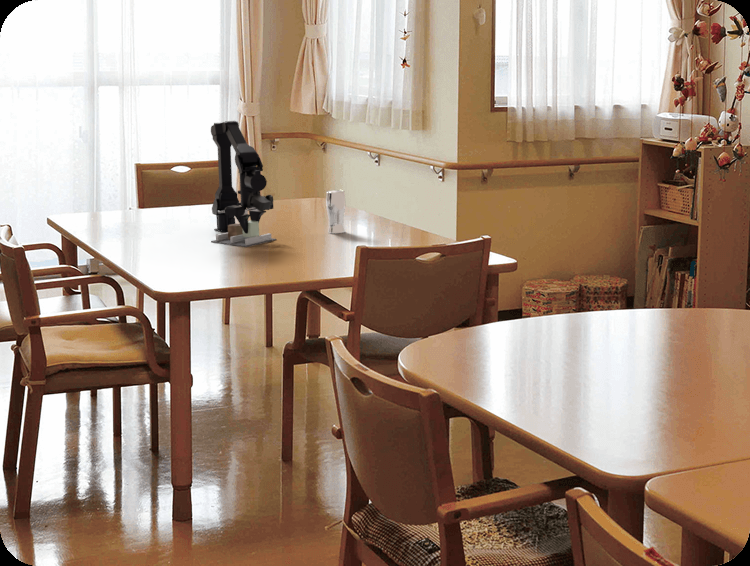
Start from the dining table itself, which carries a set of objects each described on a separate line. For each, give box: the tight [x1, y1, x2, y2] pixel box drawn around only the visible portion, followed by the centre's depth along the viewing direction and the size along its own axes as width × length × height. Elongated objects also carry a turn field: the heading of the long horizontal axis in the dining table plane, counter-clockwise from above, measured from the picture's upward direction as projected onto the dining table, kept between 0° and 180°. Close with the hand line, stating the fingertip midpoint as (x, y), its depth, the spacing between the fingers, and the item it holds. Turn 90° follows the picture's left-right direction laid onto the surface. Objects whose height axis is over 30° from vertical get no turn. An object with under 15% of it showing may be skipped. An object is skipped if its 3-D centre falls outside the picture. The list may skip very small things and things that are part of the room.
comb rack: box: [210, 232, 277, 248], centre depth 332 cm, size 17×15×2 cm
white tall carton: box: [325, 189, 346, 235], centre depth 344 cm, size 7×7×15 cm
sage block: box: [242, 219, 260, 237], centre depth 329 cm, size 4×4×5 cm
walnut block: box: [228, 223, 243, 239], centre depth 333 cm, size 4×4×5 cm
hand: (250, 232), depth 329 cm, fingers closed on sage block, 4 cm apart
